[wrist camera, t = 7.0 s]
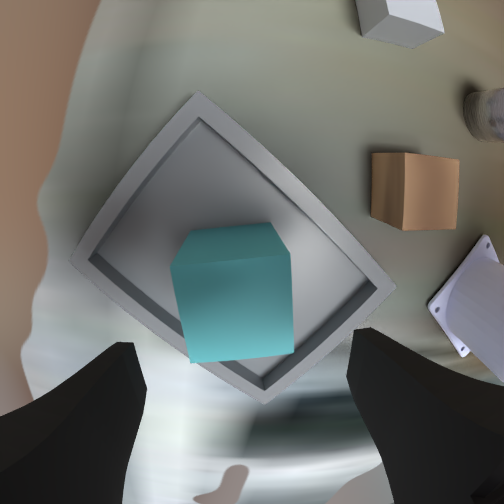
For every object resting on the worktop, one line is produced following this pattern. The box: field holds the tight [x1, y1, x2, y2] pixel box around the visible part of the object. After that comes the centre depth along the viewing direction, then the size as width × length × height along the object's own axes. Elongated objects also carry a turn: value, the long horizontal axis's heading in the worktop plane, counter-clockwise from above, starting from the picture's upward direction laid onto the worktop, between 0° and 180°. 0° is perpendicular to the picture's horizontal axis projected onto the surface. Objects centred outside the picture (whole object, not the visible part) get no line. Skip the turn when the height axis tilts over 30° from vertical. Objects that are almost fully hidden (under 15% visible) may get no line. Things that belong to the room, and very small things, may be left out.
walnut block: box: [371, 153, 459, 231], centre depth 15 cm, size 4×4×4 cm
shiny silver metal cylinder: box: [463, 88, 504, 143], centre depth 14 cm, size 4×4×4 cm
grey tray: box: [69, 90, 397, 405], centre depth 17 cm, size 16×12×2 cm
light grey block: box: [356, 0, 445, 49], centre depth 12 cm, size 4×4×4 cm
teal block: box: [170, 222, 294, 363], centre depth 14 cm, size 4×4×6 cm
